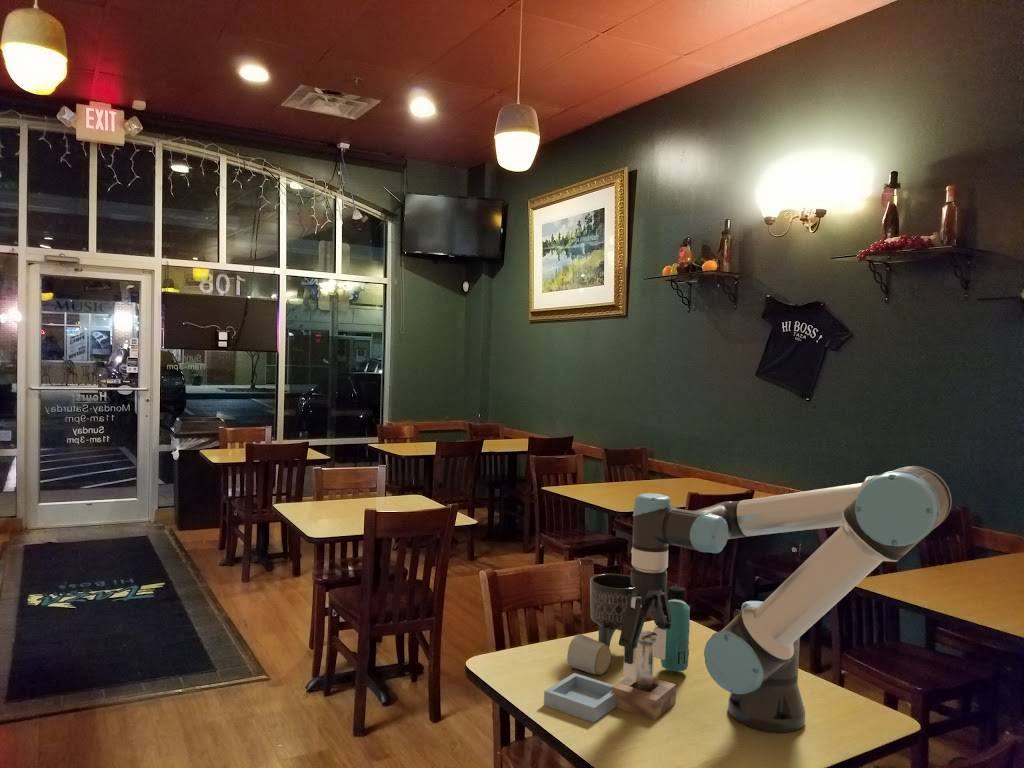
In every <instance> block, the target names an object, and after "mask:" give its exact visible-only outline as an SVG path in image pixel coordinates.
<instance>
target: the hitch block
mask: <svg viewBox="0 0 1024 768" xmlns="http://www.w3.org/2000/svg"><path fill="white" fill-rule="evenodd" d="M613 685H614V686H612V692H615V693H616V704H615V708H618V709H620V710H624V711H625V712H629V713H633V714H635V715H639V716H641V717H644V718H647V719H650V720H653V721H656V720H657V719H658V718H659V717H661V716H662V715H663V714H664V713H665V712H667V710H670V708H672V707H673V706H674V705H675V704H676V696H677V695H676V694H677V684H676V683H673V682H668V681H665V680H662V679H659V678H655V677H653V690H652V691H651V692H650V693H649V692H646V691H643V690H640V689H636V680H633V679H630V678H626V677H624V678H622V679H621V680H620V681H618V682H617V683H615V684H613Z"/></svg>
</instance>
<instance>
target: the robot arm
mask: <svg viewBox="0 0 1024 768" xmlns="http://www.w3.org/2000/svg"><path fill="white" fill-rule="evenodd" d="M671 503H672V502H671V498H670V496H668V495H665V494H662V493H653V492H652V493H651V492H650V493H648V492H647V493H641V494H637V495H636V497H635V499H634V503H633V504H634V506H633V514H632V518H633V520H632V546H631V550H630V552H631V565H632V567H631V568H630V576H631V585H632V586H633V587H635V588H636V590H637V592H636V596H635V597H631V596H629V598H628V605H627V611H626V615H625V619H624V623H623V627H622V631H620V632H621V633H620V635H619V641H618V646H620V647H624V648H623V649H624V650H623V666H622V667H623V671H622V673H623V674H622V677H624V678H630V679H633V680H636V679H637V661H638V647H636V645H637V646H638V644H637V642H638V639H639V636H640V633H641V631H642V630H643V627H644V624H645V621H646V620H647V619H649V617H650V614H651V617H652V620H653V622H654V624H655V626H654V627H653V628H652V629H653V631H652V632H654V633H656V634H657V642H655V644H654V659H655V658H656V659H658V660H661V659H662V660H664V659H665V650H666V628H667V629H671V624H669V623H671V621H672V618H671V613H670V608H669V602H668V601H669V599H668V586H667V584H668V570H667V568H668V567H669V546H670V545H671V546H677V547H680V548H684V549H690V550H692V551H693V550H694V551H697V552H701V553H712V554H719V553H721V552H722V551H723V549H724V548H725V546H726V545H727V542H728V540H731V539H738V538H746V537H753V536H761V535H762V536H763V535H771V534H778V533H779V534H780V533H789V532H797V531H807V530H817V529H818V530H819V529H826V528H827V529H829V528H836V527H838V528H837V530H836V531H834V532H833V534H832V535H830V536H829V537H828V538H827V539H826V540H825V541H824V542H823V544H821V545H820V546H819V547H818V548H817V549H816V550H815V551H814V552H813V553H812V554H811V555H809V557H808V558H807V559H806V560H805V561H804V562H803V563H802V564H801V565H800V566H798V567H797V569H795V571H794V572H793V573H792V574H791V575H789V576H788V577H787V578H786V579H785V580H784V581H783V583H781V584H780V585H779V586H777V588H776V589H775V590H774V591H773V592H772V593H771V594H770V595H769V596H768V597H767V598H766V599H765V600H764V601H760V600H749V601H748V600H747V601H745V602H743V603H742V605H741V609H740V612H739V613H738V614H737V615H736V616H735V617H734V618H733V619H732V620H731V621H730V622H729V623H728V624H727V625H726V626H725V627H724V628H722V629H721V630H719V631H717V632H715V633H713V634H712V635H711V636H710V638H709V639H708V640H707V641H706V644H705V646H704V650H703V656H704V664H705V667H706V670H707V672H708V675H710V677H711V679H712V680H713V681H714V682H715V683H716V685H718V686H719V687H720V688H722V689H723V690H725V691H726V692H728V693H730V694H729V696H728V705H727V710H728V713H729V715H730V716H731V717H732V718H734V720H736V721H737V722H739V723H741V724H743V725H745V726H747V727H749V728H753V729H756V730H759V731H764V732H768V733H769V732H770V733H790V732H796V731H798V730H800V729H802V728H803V727H804V726H805V724H804V723H806V708H805V706H804V702H803V701H804V700H803V698H802V694H801V691H800V688H799V683H798V682H799V678H798V677H799V663H800V662H799V660H800V659H799V658H800V646H801V645H800V643H801V642H800V641H801V637H802V636H803V635H804V634H805V633H806V632H807V631H808V630H809V629H810V628H812V627H813V626H814V624H816V623H817V622H818V621H819V620H820V619H821V618H822V617H823V616H825V615H826V614H827V613H828V612H829V611H830V610H831V609H832V608H833V607H834V606H836V605H837V603H839V602H840V601H841V600H842V599H843V598H844V597H845V596H847V594H849V592H851V591H852V590H853V589H854V588H856V586H858V584H860V582H862V581H863V580H864V579H865V578H866V577H867V576H868V575H870V573H871V572H873V571H874V570H875V569H876V568H877V567H878V566H879V565H880V564H882V563H883V562H894V563H895V562H898V561H900V560H901V559H902V558H903V557H904V556H905V555H906V554H907V553H909V551H911V550H912V549H913V548H914V547H915V546H916V545H917V544H919V542H921V541H922V540H923V539H924V538H926V537H927V536H929V534H931V532H932V531H933V530H934V529H936V528H938V527H939V526H940V525H941V524H943V523H944V522H945V520H946V519H947V517H948V516H949V514H950V511H951V509H952V503H953V502H952V493H951V490H950V488H949V486H948V484H947V483H946V481H945V480H944V479H943V478H942V477H941V476H940V475H939V474H937V473H936V472H934V471H933V470H931V469H928V468H925V467H923V466H917V465H916V466H915V465H911V466H910V465H909V466H904V467H899V468H896V469H894V470H891V471H885V472H882V473H879V474H876V475H875V474H874V475H870V476H867V477H866V478H865V479H864V481H863V482H860V483H859V482H858V483H851V484H846V485H839V486H831V487H826V488H819V489H812V490H805V491H798V492H792V493H783V494H776V495H771V496H765V497H764V496H763V497H757V498H752V499H743V500H738V501H737V500H736V501H723V502H718V503H716V504H714V505H711V506H706V507H704V508H703V507H702V508H700V509H696V510H689V509H688V510H687V509H681V508H678V507H677V508H676V507H672V504H671ZM665 615H666V616H665ZM803 725H804V726H803ZM802 726H803V727H802ZM801 727H802V728H801Z"/></svg>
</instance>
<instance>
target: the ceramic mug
mask: <svg viewBox="0 0 1024 768" xmlns="http://www.w3.org/2000/svg"><path fill="white" fill-rule="evenodd" d="M611 652H612V651H611V649H610V647H608V646H607V645H605V644H604V643H602V642H599V640H597V639H593V638H591V637H589V636H587V635H584V634H581V633H579V634H576V635H575V636H574V637H573V638H572V639H571V640H570V643H569V646H568V649H567V658H566V659H567V663H568V666H569V667H570V668H573V669H577V670H579V671H583V672H586V673H589V674H591V675H595V676H596V675H597V676H600V675H603V674H604V673H605V672H606V671H607V670H608V668H609V666H610V664H611V658H612V655H611Z"/></svg>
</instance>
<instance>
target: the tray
mask: <svg viewBox="0 0 1024 768" xmlns="http://www.w3.org/2000/svg"><path fill="white" fill-rule="evenodd" d="M614 685H615V684H610V683H608V682H605V681H601V680H598V679H594V678H592V677H588V676H585V675H583V674H582V675H581V674H579V673H576V672H574V673H571V674H570V675H568V676H567V677H565V678H563V679H562V680H560V681H559V682H557V683H555V684H554V685H552V686H550V687H549V688H546V689H545V690H544V692H543V695H544V696H543V705H544V706H545V707H549V708H550V709H554V710H557V711H559V712H562V713H565V714H568V715H571V716H574V717H576V718H579V719H582V720H585V721H589V722H591V723H596V722H597V721H599V719H601V718H602V717H604V716H605V715H607V714H608V713H609V712H610V711H612V710H613V709H615V708H616V707H615V704H616V693H615V692H612V686H614Z"/></svg>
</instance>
